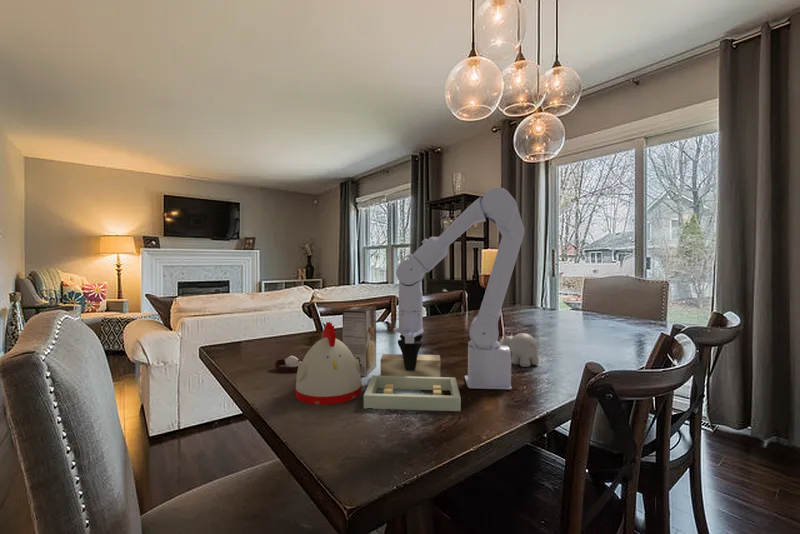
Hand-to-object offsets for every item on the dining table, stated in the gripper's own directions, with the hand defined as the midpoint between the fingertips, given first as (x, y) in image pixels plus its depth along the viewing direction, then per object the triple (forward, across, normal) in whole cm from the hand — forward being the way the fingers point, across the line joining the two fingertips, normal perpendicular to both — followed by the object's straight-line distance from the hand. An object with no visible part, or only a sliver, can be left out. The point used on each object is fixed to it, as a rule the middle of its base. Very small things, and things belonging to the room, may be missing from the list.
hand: (410, 366), depth 91 cm
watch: (+3, -4, -31) cm, 31 cm away
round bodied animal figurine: (+3, -16, +29) cm, 33 cm away
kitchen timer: (+3, +11, -17) cm, 21 cm away
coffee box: (+3, -5, -13) cm, 14 cm away
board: (+2, 0, 0) cm, 2 cm away
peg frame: (+3, +13, +1) cm, 13 cm away
